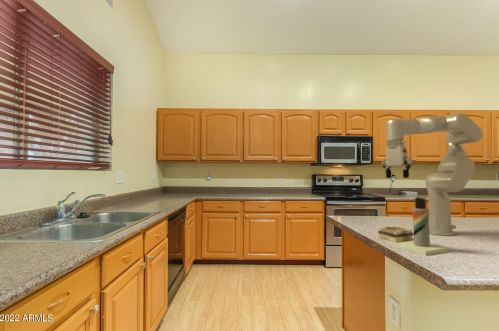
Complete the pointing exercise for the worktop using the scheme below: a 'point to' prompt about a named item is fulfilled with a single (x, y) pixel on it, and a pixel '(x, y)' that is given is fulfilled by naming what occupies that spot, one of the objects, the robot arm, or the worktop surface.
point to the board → (422, 248)
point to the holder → (395, 234)
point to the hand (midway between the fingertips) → (397, 177)
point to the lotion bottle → (421, 223)
